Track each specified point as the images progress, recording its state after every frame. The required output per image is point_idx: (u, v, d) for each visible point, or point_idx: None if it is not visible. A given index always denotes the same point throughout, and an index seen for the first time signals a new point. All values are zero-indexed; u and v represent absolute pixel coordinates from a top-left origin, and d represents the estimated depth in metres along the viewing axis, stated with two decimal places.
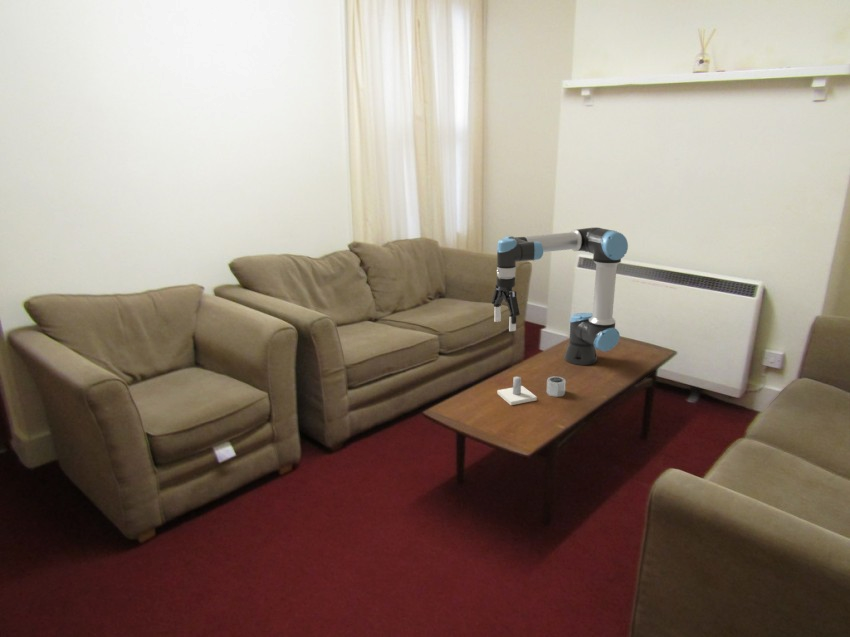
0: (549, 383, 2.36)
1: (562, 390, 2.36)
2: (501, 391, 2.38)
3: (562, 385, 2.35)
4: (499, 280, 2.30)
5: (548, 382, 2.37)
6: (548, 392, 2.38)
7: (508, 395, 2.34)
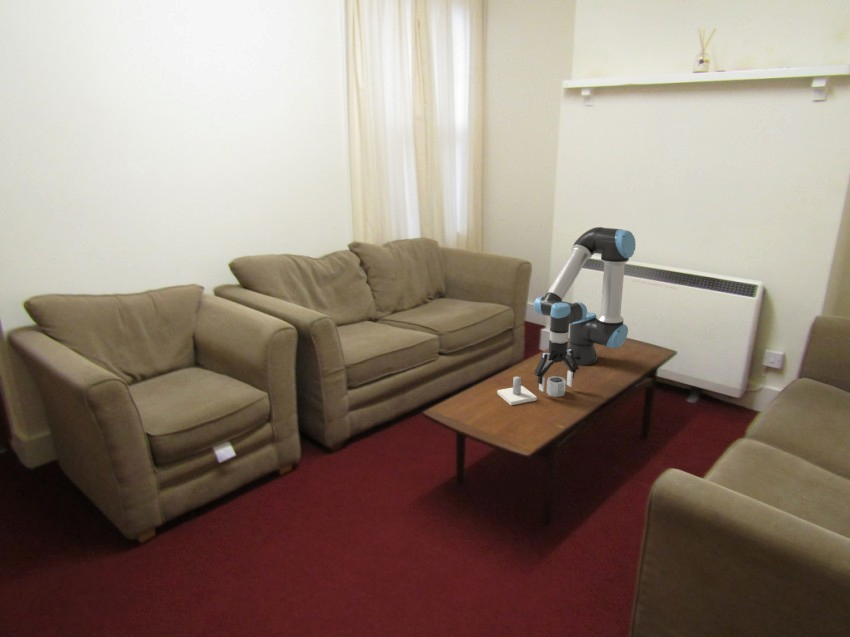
0: (549, 383, 2.36)
1: (562, 390, 2.36)
2: (501, 391, 2.38)
3: (562, 385, 2.35)
4: None
5: (548, 382, 2.37)
6: (548, 392, 2.38)
7: (508, 395, 2.34)
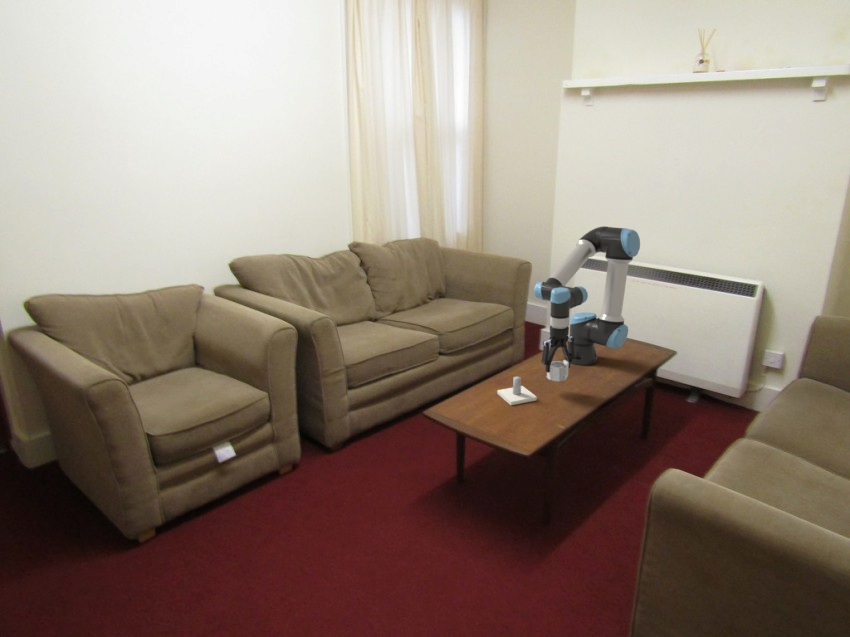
0: None
1: (564, 375, 2.34)
2: (501, 391, 2.38)
3: (564, 370, 2.33)
4: None
5: None
6: None
7: (508, 395, 2.34)
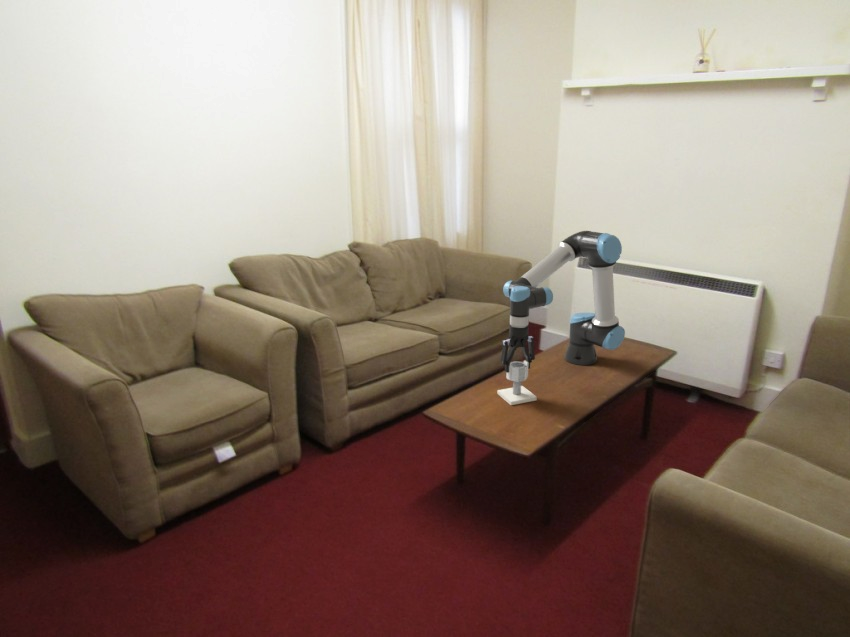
0: None
1: (523, 375, 2.30)
2: (501, 391, 2.38)
3: (523, 370, 2.29)
4: None
5: None
6: None
7: (508, 395, 2.34)
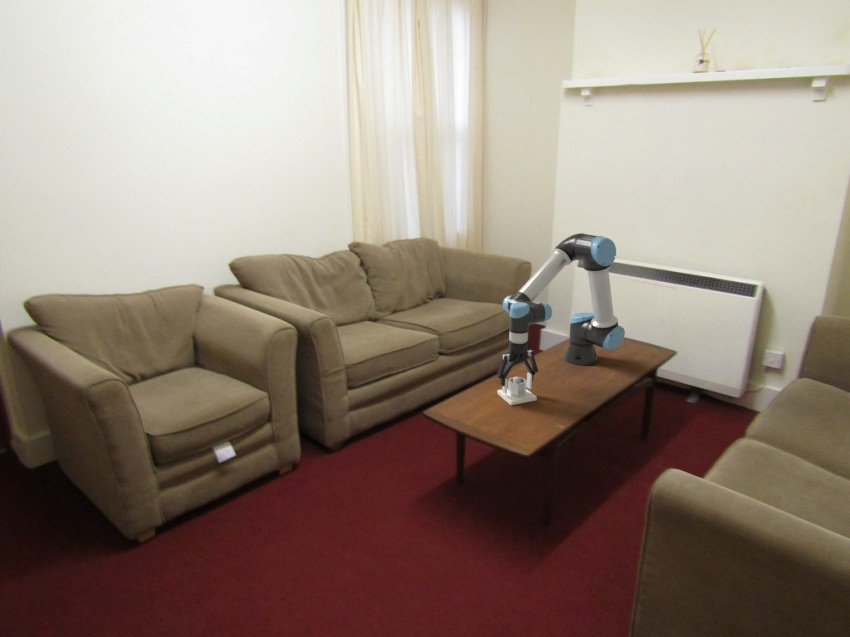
0: (510, 384, 2.33)
1: (523, 391, 2.32)
2: (501, 391, 2.38)
3: (523, 386, 2.32)
4: None
5: (509, 383, 2.34)
6: (509, 393, 2.35)
7: (508, 395, 2.34)
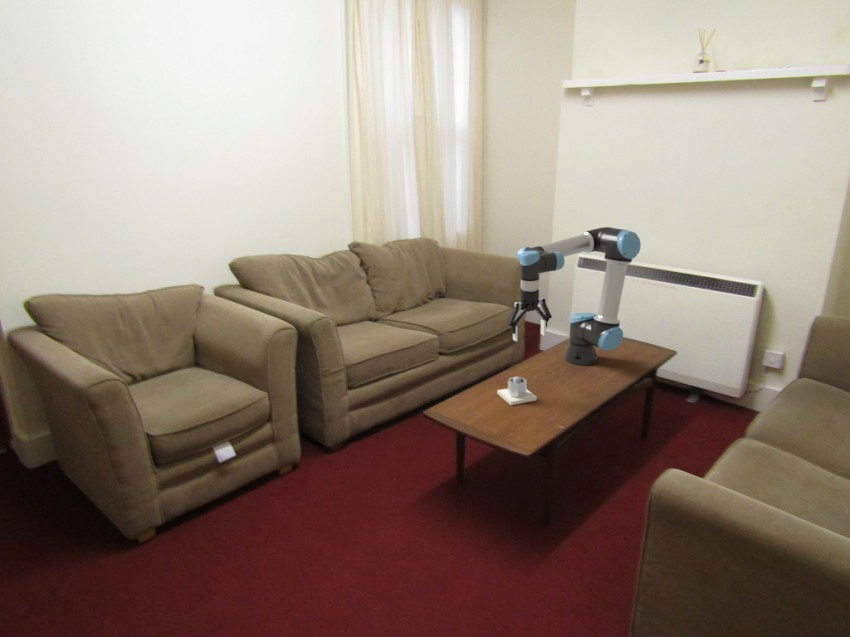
0: (510, 384, 2.33)
1: (523, 391, 2.32)
2: (501, 391, 2.38)
3: (523, 386, 2.32)
4: None
5: (509, 383, 2.34)
6: (509, 393, 2.35)
7: (508, 395, 2.34)
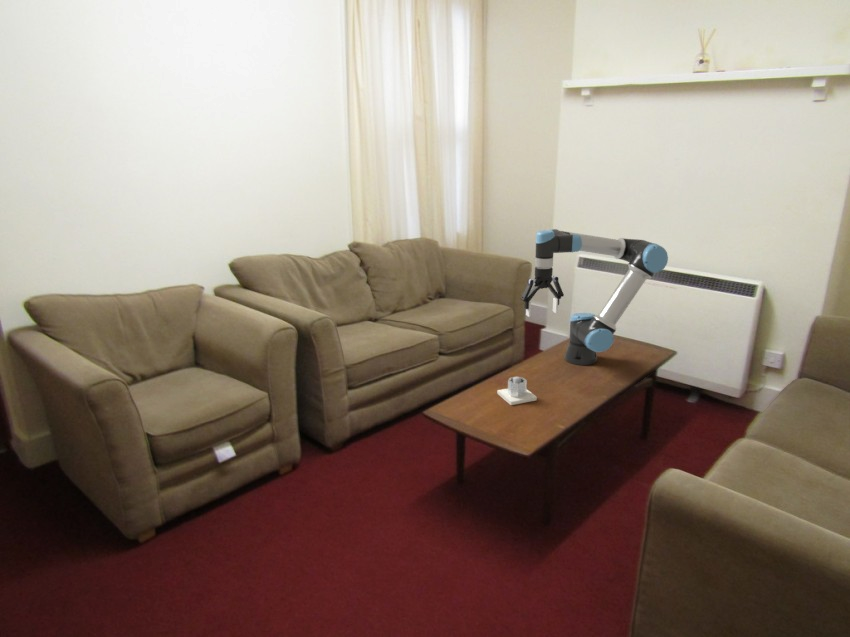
0: (510, 384, 2.33)
1: (523, 391, 2.32)
2: (501, 391, 2.38)
3: (523, 386, 2.32)
4: None
5: (509, 383, 2.34)
6: (509, 393, 2.35)
7: (508, 395, 2.34)
